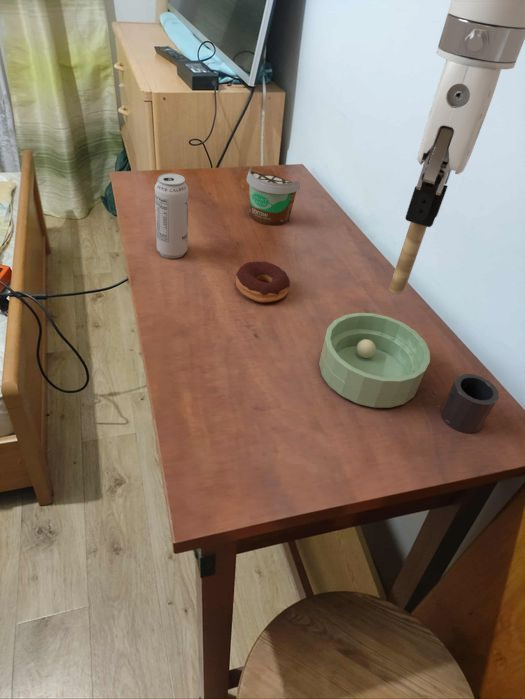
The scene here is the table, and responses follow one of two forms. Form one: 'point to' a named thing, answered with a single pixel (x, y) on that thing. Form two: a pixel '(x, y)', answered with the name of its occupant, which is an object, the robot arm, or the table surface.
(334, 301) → the table surface
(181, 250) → the energy drink can
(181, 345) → the table surface
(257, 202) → the food container
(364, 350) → the ball
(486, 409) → the holder
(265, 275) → the donut
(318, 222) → the table surface
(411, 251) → the stick
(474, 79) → the robot arm
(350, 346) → the bowl
